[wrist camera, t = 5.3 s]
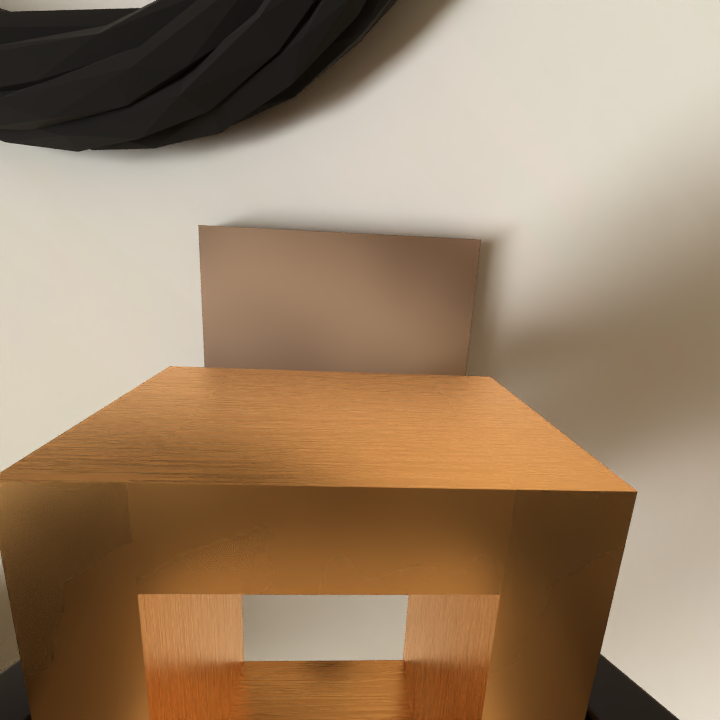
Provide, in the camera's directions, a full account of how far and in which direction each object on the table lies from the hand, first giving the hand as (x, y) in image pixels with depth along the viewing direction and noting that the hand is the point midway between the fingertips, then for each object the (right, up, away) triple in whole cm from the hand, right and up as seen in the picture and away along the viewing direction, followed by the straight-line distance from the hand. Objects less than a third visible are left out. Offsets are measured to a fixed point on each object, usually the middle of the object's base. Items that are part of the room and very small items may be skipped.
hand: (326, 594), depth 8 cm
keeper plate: (0, +2, +10) cm, 10 cm away
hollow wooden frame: (0, 0, +1) cm, 1 cm away
